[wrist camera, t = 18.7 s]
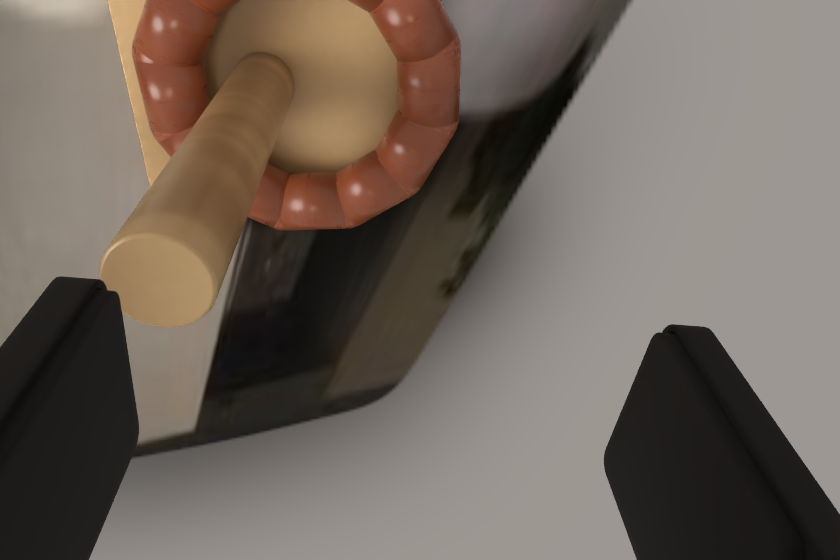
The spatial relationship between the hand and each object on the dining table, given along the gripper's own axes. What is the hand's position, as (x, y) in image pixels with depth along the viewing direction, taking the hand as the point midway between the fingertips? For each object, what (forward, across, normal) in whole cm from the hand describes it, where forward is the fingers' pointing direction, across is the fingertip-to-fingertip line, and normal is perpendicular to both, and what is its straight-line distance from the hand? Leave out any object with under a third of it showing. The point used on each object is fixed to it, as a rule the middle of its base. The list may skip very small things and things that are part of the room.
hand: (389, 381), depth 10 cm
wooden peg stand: (+15, +4, 0) cm, 16 cm away
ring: (+13, +3, 0) cm, 13 cm away
